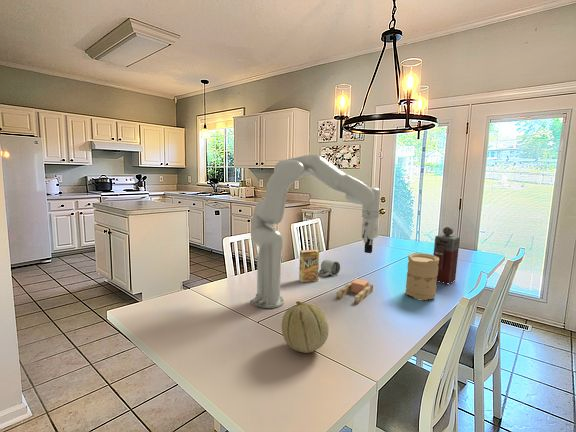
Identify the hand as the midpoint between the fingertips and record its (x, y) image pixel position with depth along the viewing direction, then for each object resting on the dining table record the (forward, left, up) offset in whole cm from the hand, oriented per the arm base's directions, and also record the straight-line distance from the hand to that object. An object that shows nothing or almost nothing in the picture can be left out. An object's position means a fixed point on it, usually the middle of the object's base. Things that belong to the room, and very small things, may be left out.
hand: (368, 252), depth 155 cm
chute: (-13, 0, -17) cm, 21 cm away
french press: (+31, -29, -17) cm, 46 cm away
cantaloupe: (-64, -4, -17) cm, 66 cm away
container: (+4, -24, -17) cm, 29 cm away
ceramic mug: (+4, +22, -17) cm, 28 cm away
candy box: (-10, +26, -17) cm, 33 cm away
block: (-8, 0, -17) cm, 19 cm away
